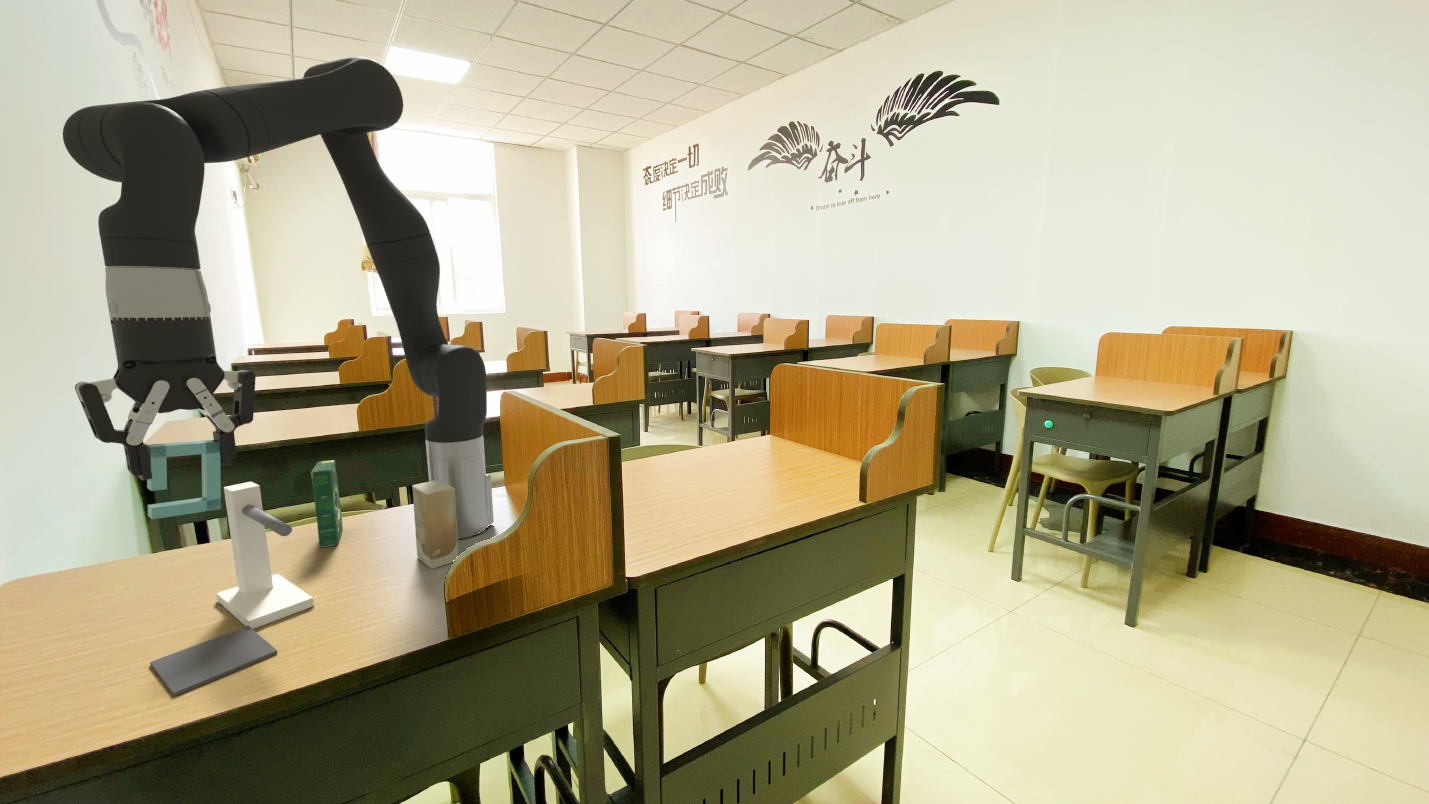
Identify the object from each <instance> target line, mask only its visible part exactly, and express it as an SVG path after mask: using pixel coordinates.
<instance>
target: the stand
mask: <svg viewBox="0 0 1429 804" xmlns="http://www.w3.org/2000/svg"><path fill="white" fill-rule="evenodd" d="M260 487H261V486H260V485H259V484H257V483H255V482H253V481H246V482H243V483H237V484H232V485H228V486H223V492H224V499H225V506H226V513H227V520H228V526H229V532H230V540H231V546H232V547H231V549H232V553H233V555H232V556H233V560H234V561H233V563H234V569H235V575H236V582H237V586H235V587H232V588H228V589H225V590H221V591H219V592H216V599H217V602H218V603H219V604H220V605H221V604H222V605H223V606H224V609H226V610H227V611H228V612H229V611H230V612H229V613H230V614H231V615H233V617H235V618H236V619H237V620H238V621H240V622H241V624H243V625H244V627H246V626H249V627H251V628H252V629H253V630H254V629H257V628H259V627H261V626H265V625H267V624H270V623H272V622H275V621H278V620H280V619H283V618H287V617H288V616H291V615H294V614H296V613H299V612H302V611H304V610H306V609H309V608H312V607H314V606H315V603H314V597H313V596H311V595H310V594H308V593H306V592H305V591H303V589H301V588H300V587H298V586H296V585H295V584H294V583H292V582H290V581H289V580H287V579H286V578H285V577H283V576H282V575H280V574H279V573H276V574H272V569H271V562H270V554H269V553H270V552H269V547H268V546H269V545H268V540H267V533H266V531H267V529H268V530H270V531H272V532H274V533H276V534H277V535H278V536H280V537H287V536H289V535H290V534H291V533H292V532H293V527H292V526H291V525H290V524H288V523H286V522H285V521H282V520H281V519H279V518H277V517H275V516H273V515H271V514H269V513H267V512H266V511H264V509H263V508H264V507H263V502H262V494H261V493H262V492H261V488H260ZM266 528H267V529H266ZM222 605H221V606H222ZM223 606H222V607H223Z"/></svg>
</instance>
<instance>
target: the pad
mask: <svg viewBox="0 0 1429 804" xmlns="http://www.w3.org/2000/svg"><path fill="white" fill-rule="evenodd" d="M277 654H278V650H277V649H276V648H275V647H274V646H273V645H271V644H270V643H269V642H268V641H267V640H266V639H265V638H263V637H262V636H261V635H260V634H258V633H257V631H255V630H254V629H252V628H251V627H249V626H244V627H241V628H238V629H235V630H233V631H230V632H228V633H225V634H223V635H220V636H216V637H214V638H211V639H209V640H206V641H204V642H203V641H202V642H200V643H198V644H195V645H192V646H190V647H187V648H185V649H182V650H178V651H176V652H174V653H171V654H168V655H166V656H163V657H160V658H158V659H154V660H152V661H150V662H149V664H150V666H151V668H152V669H153V670H154V672H155V673H156V674H157V676H158V677H159V678H160V680H161V681H162V682H163V683H164V685H165V686H166V687H167V689H168V690H169V691H170V693H171V694H172V695H173V697H176V696H179V695H182V694H183V693H186V692H189V691H190V690H194V689H195V688H198V687H201V686H203V685H205V684H207V683H210V682H213V681H214V680H217V679H219V678H222V677H225V676H227V675H229V674H232V673H234V672H236V671H238V670H242V669H244V668H245V667H248V666H251V665H253V664H255V663H259V662H260V661H263V660H265V659H267V658H270V657H272V656H274V655H277Z"/></svg>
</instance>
